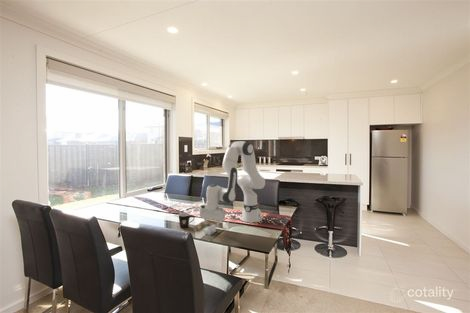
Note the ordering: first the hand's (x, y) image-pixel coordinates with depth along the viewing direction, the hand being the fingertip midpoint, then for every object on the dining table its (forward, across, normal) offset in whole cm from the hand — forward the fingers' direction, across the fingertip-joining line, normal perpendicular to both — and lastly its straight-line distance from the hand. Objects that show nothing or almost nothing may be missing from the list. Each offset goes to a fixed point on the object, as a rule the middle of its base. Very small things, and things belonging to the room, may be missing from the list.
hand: (212, 224), depth 173 cm
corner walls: (+7, +7, -6) cm, 11 cm away
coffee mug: (+7, +25, -1) cm, 26 cm away
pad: (+6, +8, -6) cm, 12 cm away
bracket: (+7, +2, -1) cm, 7 cm away
